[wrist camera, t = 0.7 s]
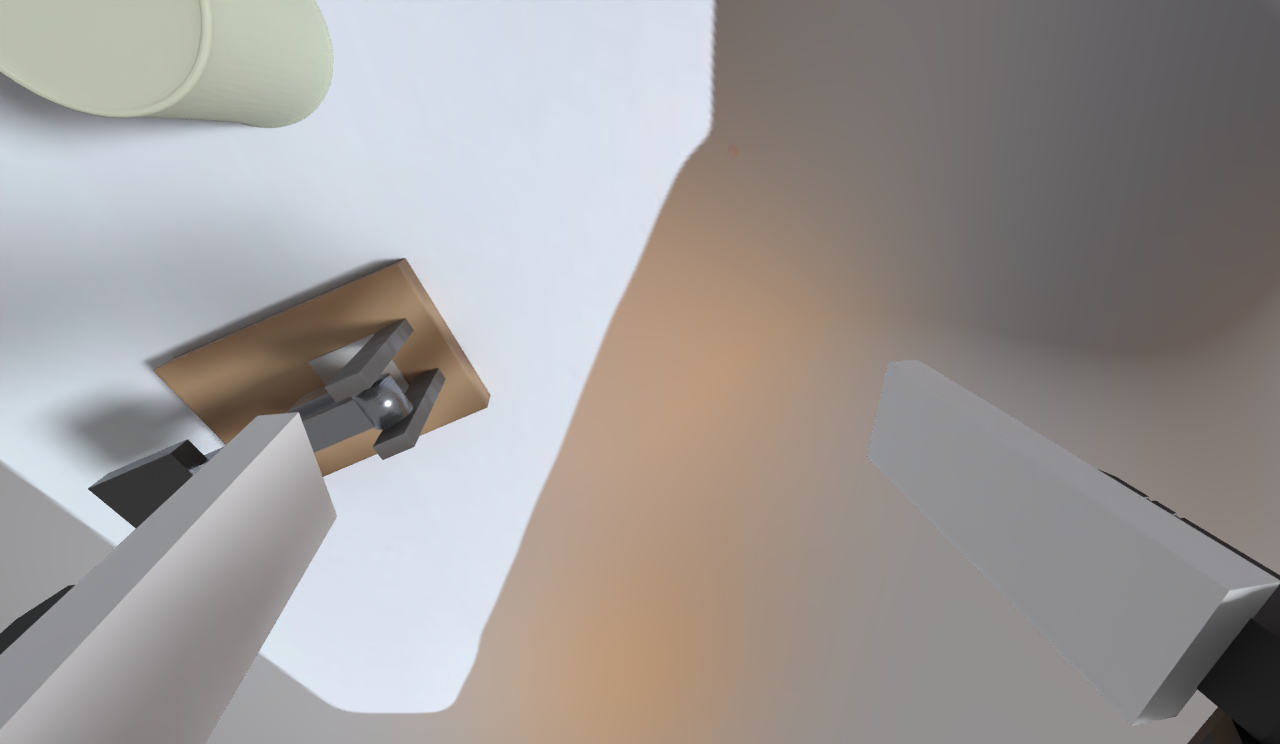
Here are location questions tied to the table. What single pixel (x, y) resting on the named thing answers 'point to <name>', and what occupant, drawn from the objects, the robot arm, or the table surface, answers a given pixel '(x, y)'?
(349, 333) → the base
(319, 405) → the lever
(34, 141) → the table surface
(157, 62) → the can
